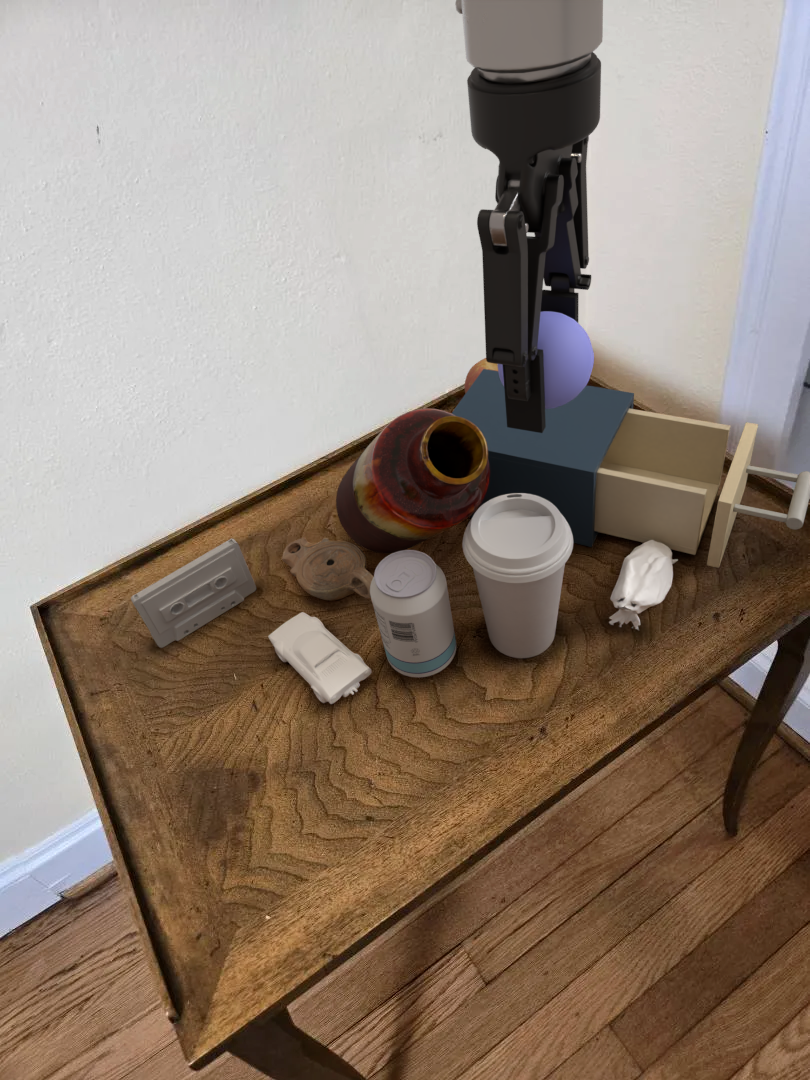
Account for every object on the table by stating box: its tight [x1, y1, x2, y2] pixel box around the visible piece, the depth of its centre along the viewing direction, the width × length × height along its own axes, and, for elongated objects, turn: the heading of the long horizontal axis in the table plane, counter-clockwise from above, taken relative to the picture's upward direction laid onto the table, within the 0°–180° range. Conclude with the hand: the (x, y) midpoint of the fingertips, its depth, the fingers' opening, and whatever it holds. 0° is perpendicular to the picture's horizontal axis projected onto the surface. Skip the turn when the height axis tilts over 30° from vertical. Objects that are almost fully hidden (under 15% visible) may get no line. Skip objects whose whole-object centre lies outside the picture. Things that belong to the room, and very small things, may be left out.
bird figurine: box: [608, 540, 679, 632], centre depth 78 cm, size 5×7×10 cm
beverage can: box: [370, 549, 457, 678], centre depth 75 cm, size 7×7×12 cm
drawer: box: [594, 408, 810, 569], centre depth 83 cm, size 23×12×9 cm, turn 63°
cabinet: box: [450, 369, 635, 548], centre depth 89 cm, size 18×14×11 cm
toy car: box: [267, 611, 373, 705], centre depth 79 cm, size 6×12×3 cm, turn 40°
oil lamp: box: [281, 536, 374, 601], centre depth 85 cm, size 13×8×5 cm, turn 47°
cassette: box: [130, 538, 257, 649], centre depth 84 cm, size 12×2×8 cm, turn 127°
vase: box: [335, 407, 490, 555], centre depth 78 cm, size 11×11×26 cm
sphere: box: [497, 311, 595, 409], centre depth 59 cm, size 7×7×7 cm
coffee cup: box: [462, 493, 574, 659], centre depth 74 cm, size 10×10×15 cm
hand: (543, 396), depth 61 cm, fingers closed on sphere, 7 cm apart
